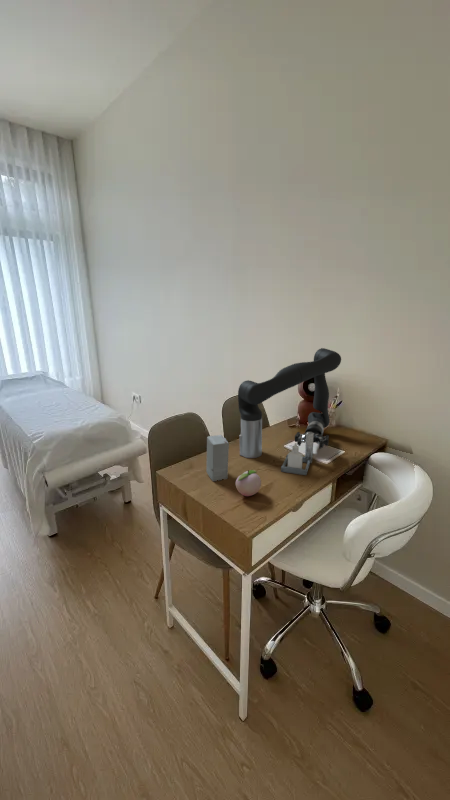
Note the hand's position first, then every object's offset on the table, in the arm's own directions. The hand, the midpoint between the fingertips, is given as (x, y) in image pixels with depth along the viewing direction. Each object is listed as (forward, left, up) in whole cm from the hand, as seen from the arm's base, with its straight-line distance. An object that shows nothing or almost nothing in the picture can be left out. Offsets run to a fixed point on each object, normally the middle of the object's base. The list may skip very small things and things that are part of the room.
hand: (309, 445), depth 144 cm
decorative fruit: (-16, -33, -8) cm, 38 cm away
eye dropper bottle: (-4, -10, -8) cm, 13 cm away
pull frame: (-4, -7, -7) cm, 11 cm away
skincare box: (-32, -23, -8) cm, 41 cm away
